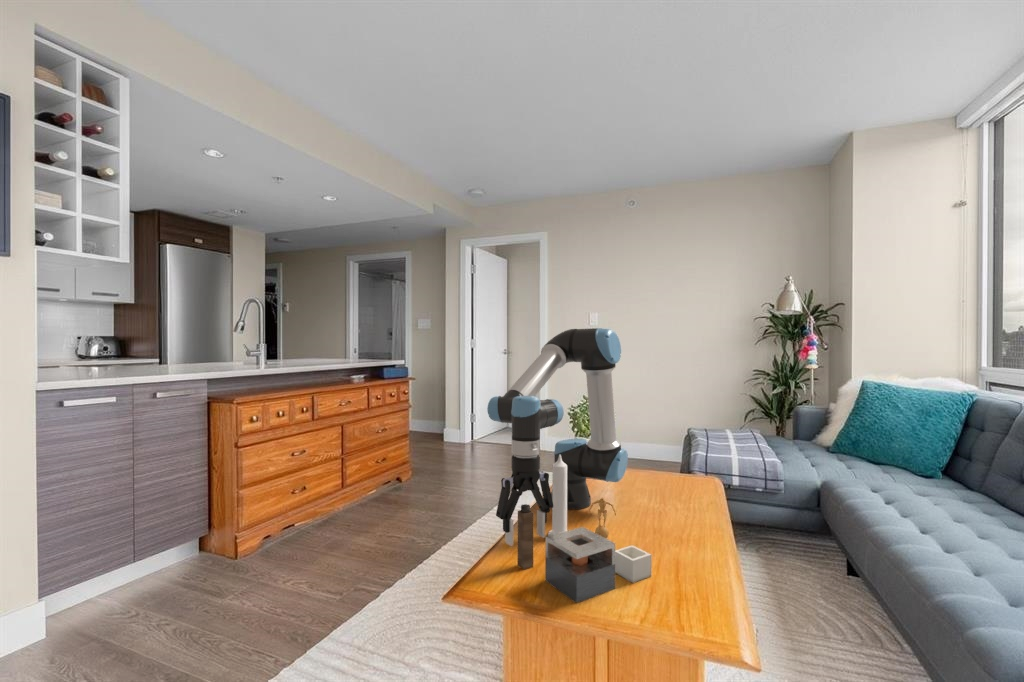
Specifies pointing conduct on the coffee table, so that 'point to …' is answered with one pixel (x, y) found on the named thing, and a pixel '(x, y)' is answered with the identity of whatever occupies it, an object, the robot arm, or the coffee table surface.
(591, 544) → the grey box with hole
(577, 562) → the button
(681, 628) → the coffee table surface
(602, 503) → the figurine
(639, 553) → the pen cup
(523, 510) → the wood knob block
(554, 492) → the candle
